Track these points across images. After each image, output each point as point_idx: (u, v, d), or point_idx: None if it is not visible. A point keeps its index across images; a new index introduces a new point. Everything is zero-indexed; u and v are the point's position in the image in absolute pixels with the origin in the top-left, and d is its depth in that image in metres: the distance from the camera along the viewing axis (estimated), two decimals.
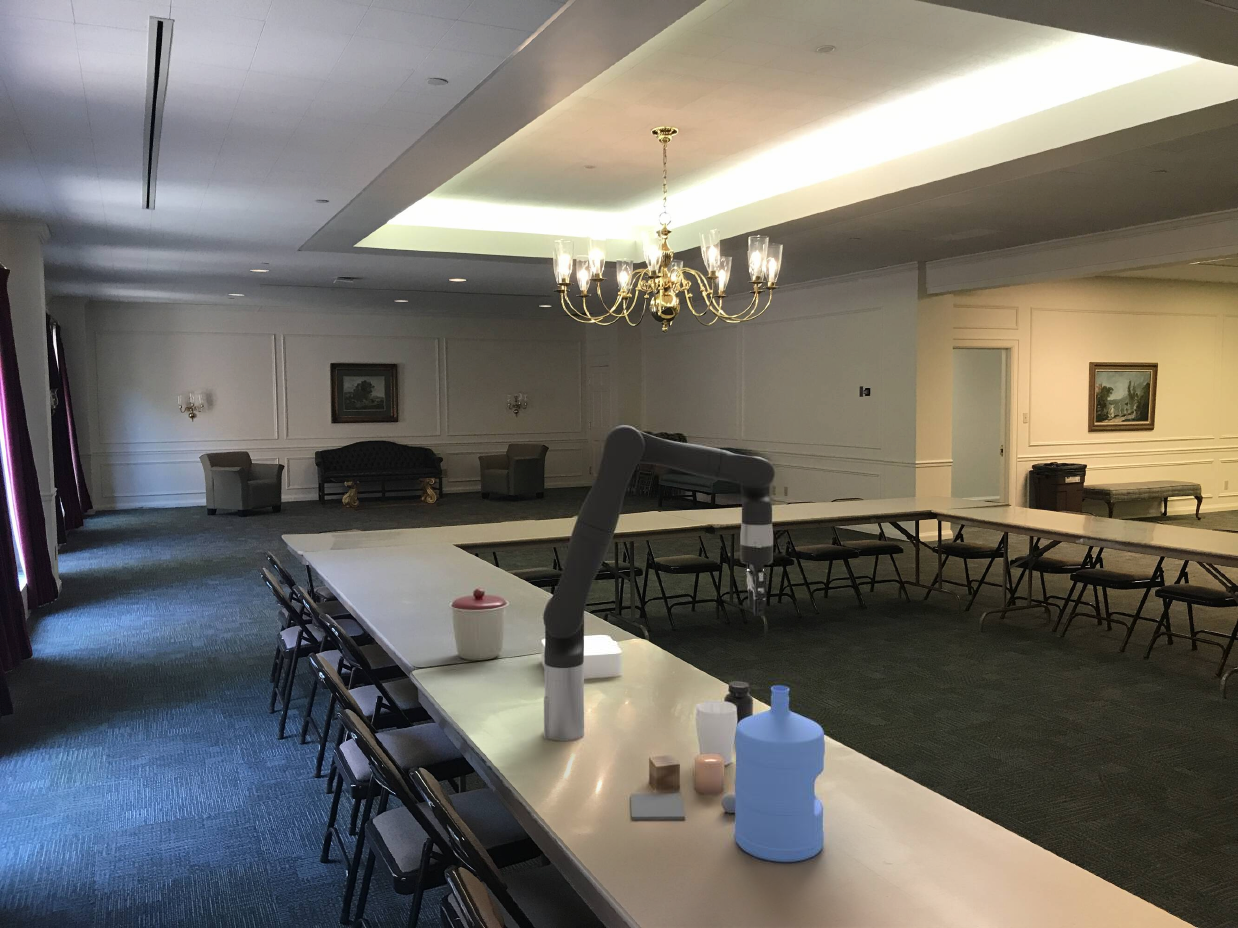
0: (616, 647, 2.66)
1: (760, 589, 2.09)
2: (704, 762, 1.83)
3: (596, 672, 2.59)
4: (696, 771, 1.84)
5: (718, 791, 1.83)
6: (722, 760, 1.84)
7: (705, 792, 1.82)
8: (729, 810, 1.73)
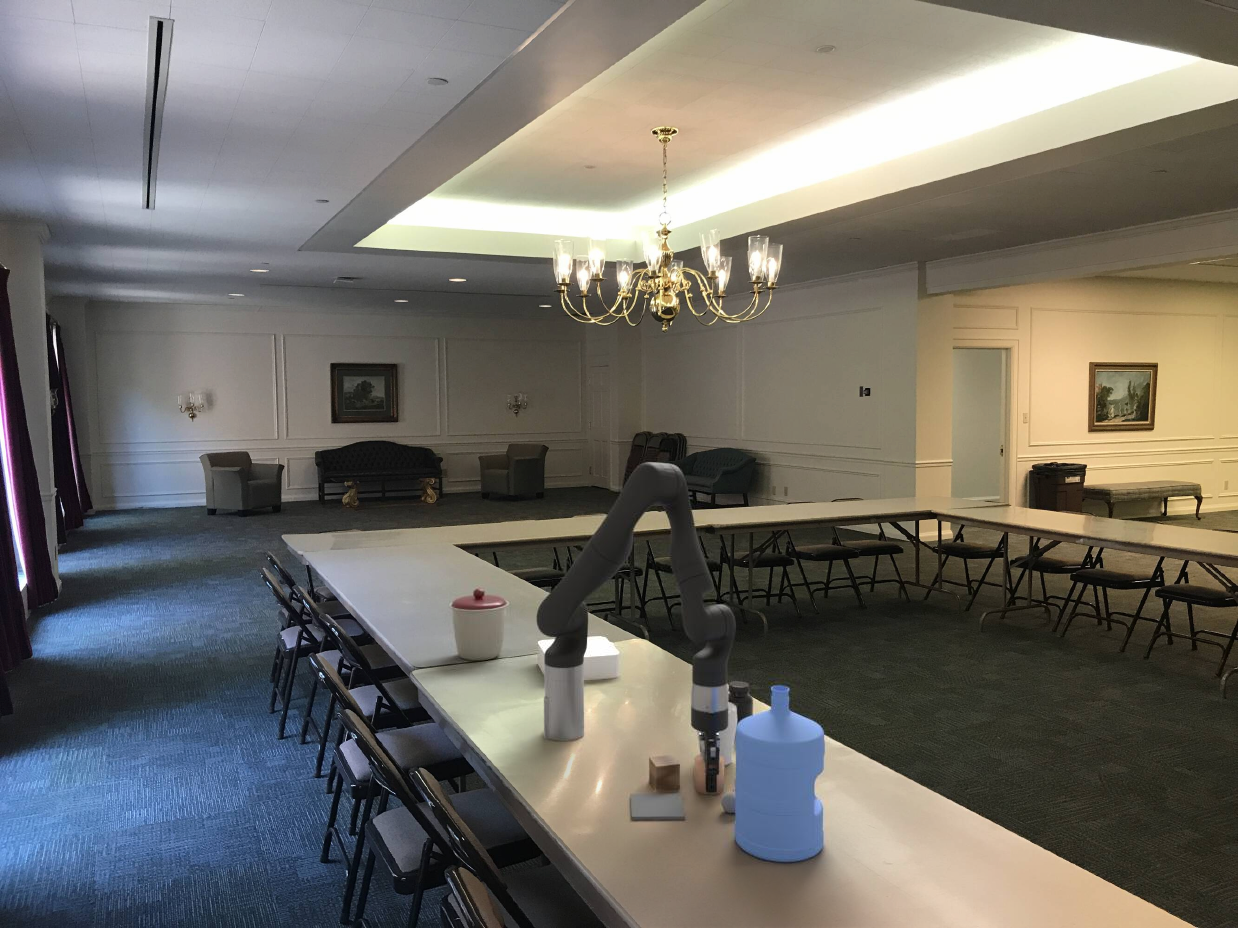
0: (613, 648, 2.65)
1: None
2: None
3: (594, 673, 2.57)
4: (696, 771, 1.84)
5: (718, 791, 1.83)
6: (722, 760, 1.84)
7: (705, 792, 1.82)
8: (729, 810, 1.73)
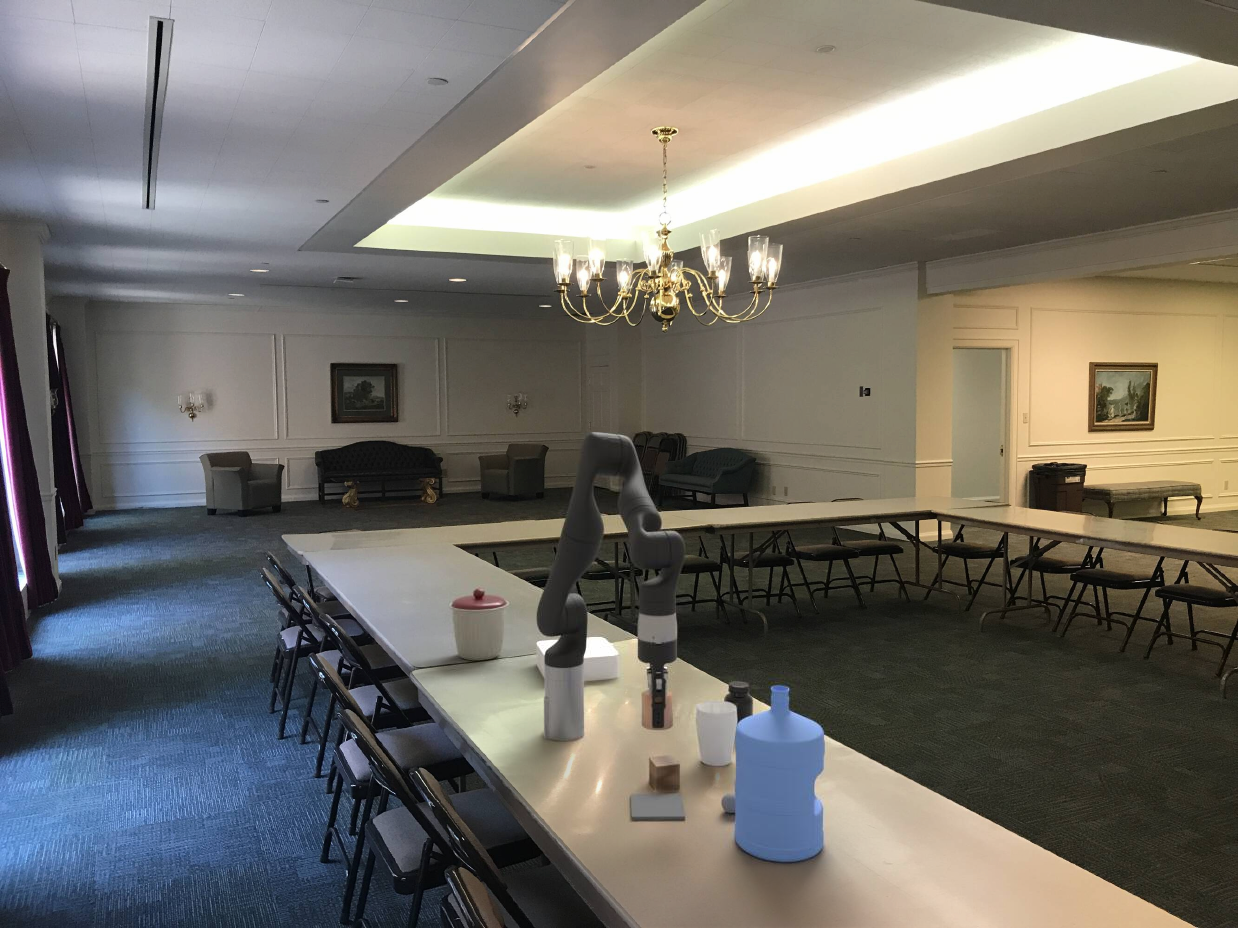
0: (613, 649, 2.64)
1: None
2: None
3: (593, 674, 2.56)
4: (643, 706, 1.74)
5: (666, 727, 1.73)
6: (671, 695, 1.74)
7: (652, 728, 1.72)
8: (729, 810, 1.73)
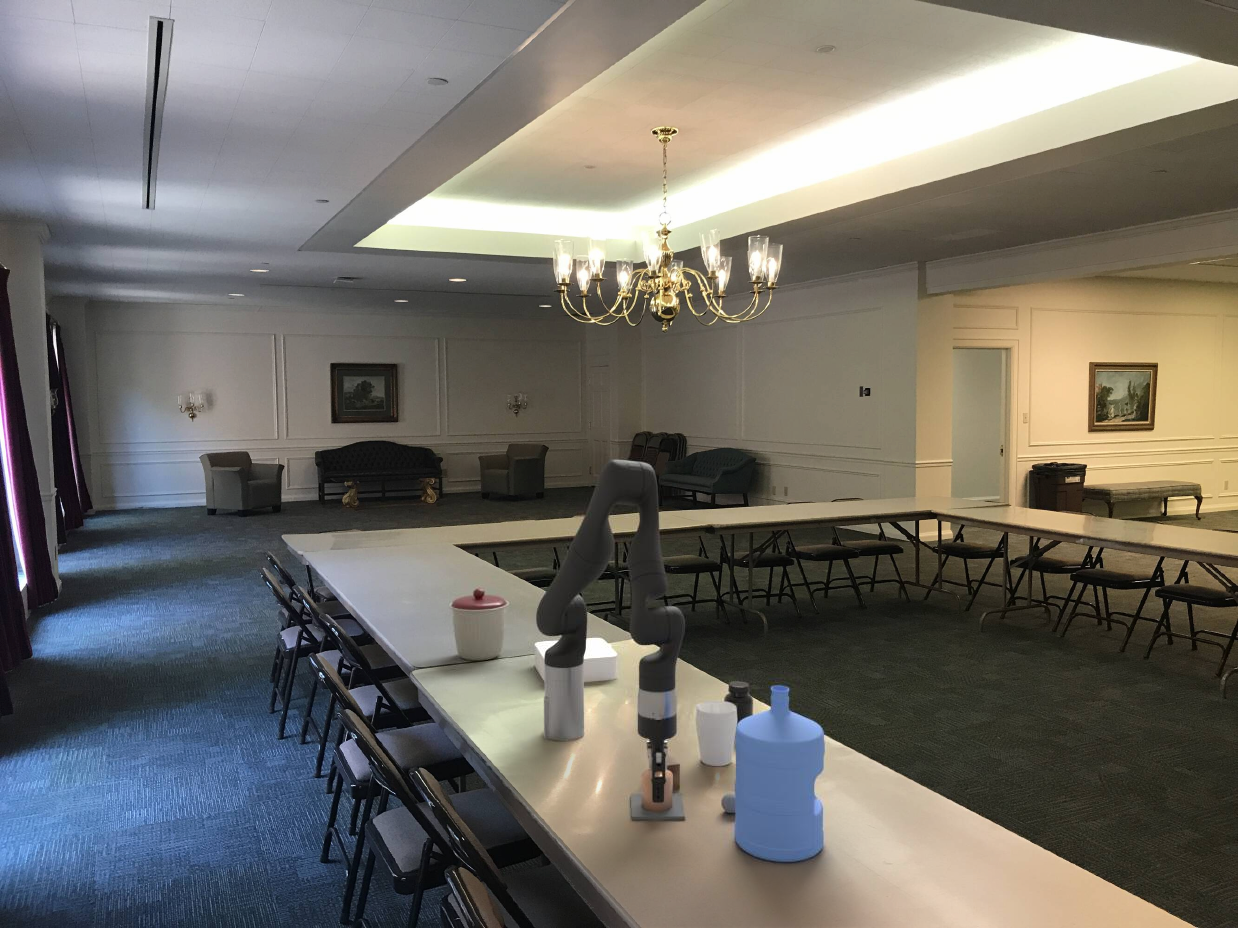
0: (611, 650, 2.63)
1: None
2: (651, 777, 1.74)
3: (592, 675, 2.56)
4: (643, 787, 1.75)
5: (666, 808, 1.74)
6: (670, 775, 1.75)
7: (652, 809, 1.73)
8: (729, 810, 1.73)
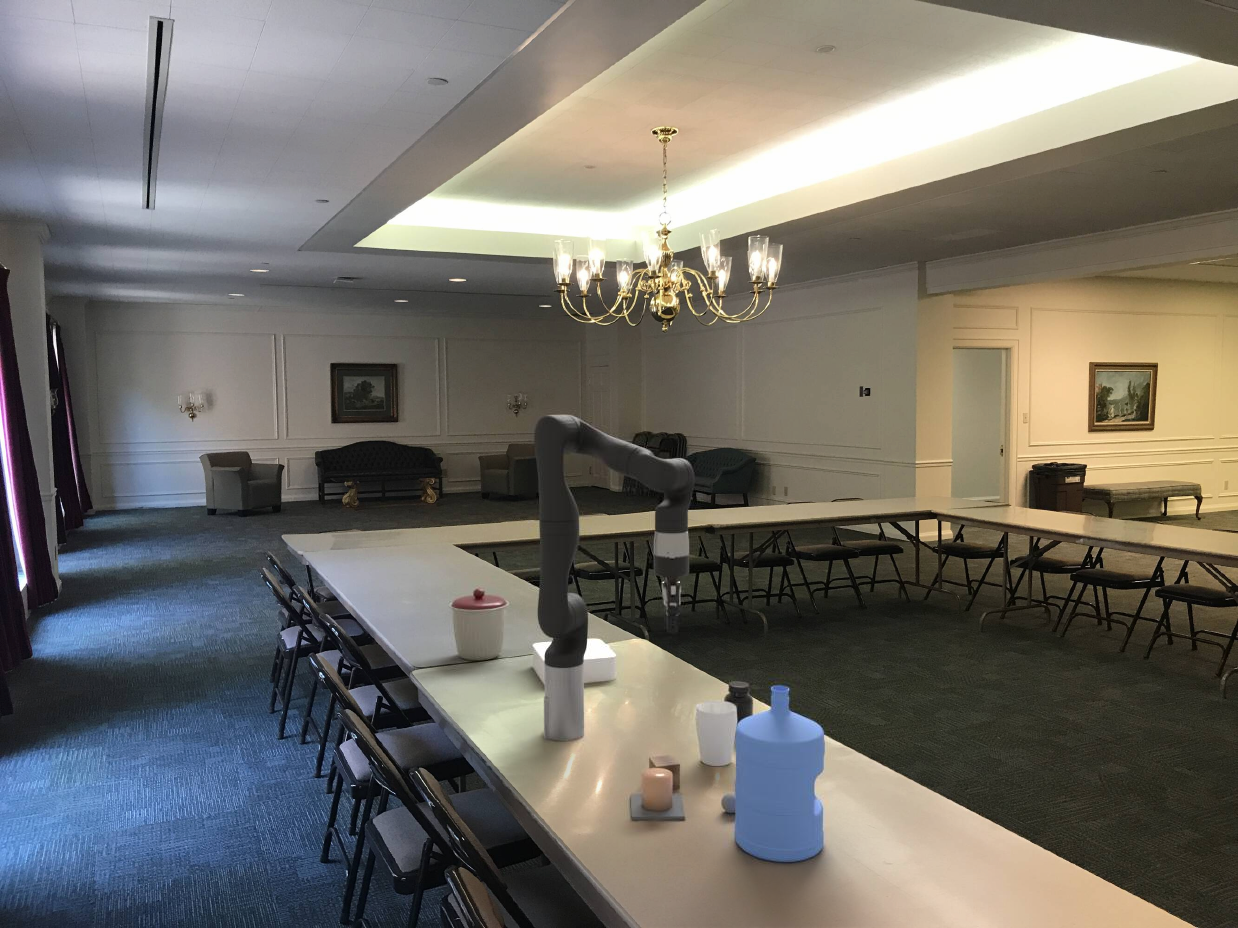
0: (610, 651, 2.62)
1: (674, 603, 1.91)
2: (651, 777, 1.74)
3: (591, 676, 2.55)
4: (642, 786, 1.75)
5: (665, 808, 1.74)
6: (670, 775, 1.75)
7: (651, 808, 1.73)
8: (729, 810, 1.73)
